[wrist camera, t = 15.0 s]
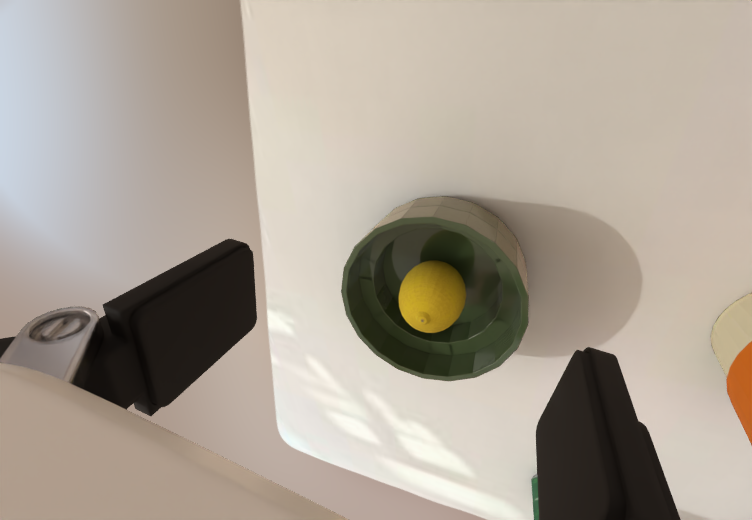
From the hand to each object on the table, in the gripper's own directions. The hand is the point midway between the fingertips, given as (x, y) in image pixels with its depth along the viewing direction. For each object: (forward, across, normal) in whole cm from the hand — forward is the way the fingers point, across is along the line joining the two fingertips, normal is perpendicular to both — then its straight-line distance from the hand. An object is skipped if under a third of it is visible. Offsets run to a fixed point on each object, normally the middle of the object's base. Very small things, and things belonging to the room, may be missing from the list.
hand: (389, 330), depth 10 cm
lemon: (+22, +1, +10) cm, 24 cm away
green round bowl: (+22, +1, +10) cm, 25 cm away
